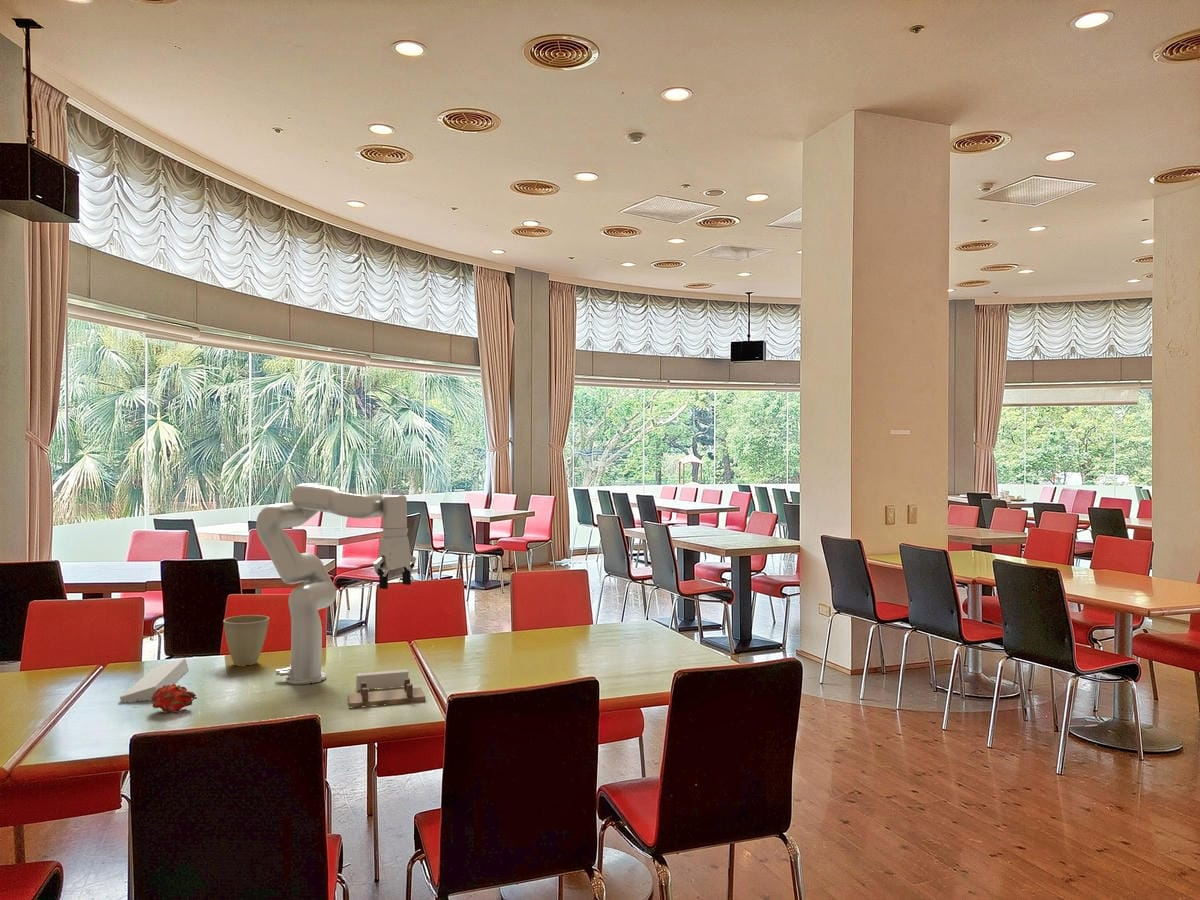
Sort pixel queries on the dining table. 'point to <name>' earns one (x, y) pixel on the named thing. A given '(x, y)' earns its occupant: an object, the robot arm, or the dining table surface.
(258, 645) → the plant pot
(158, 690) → the dragon fruit
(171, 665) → the white wedge ramp
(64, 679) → the dining table surface
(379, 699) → the plank with four pegs
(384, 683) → the clay strip
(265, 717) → the dining table surface
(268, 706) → the dining table surface
